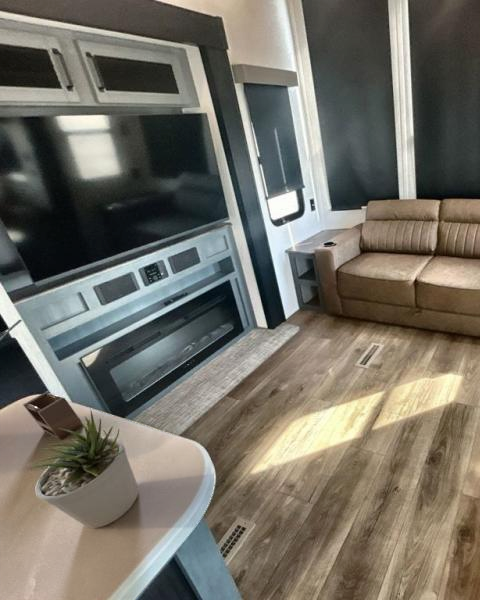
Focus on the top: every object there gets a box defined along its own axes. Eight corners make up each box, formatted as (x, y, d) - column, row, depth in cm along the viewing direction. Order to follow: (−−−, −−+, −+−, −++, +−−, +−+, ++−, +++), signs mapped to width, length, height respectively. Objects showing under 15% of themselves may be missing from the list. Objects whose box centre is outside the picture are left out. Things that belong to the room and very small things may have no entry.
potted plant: (113, 547, 62) (46, 470, 52) (54, 533, 65) (-18, 459, 56) (169, 481, 72) (122, 407, 63) (116, 471, 76) (64, 400, 66)
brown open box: (44, 431, 89) (22, 404, 85) (67, 417, 93) (47, 390, 89) (61, 440, 86) (39, 412, 82) (84, 425, 90) (64, 397, 86)
